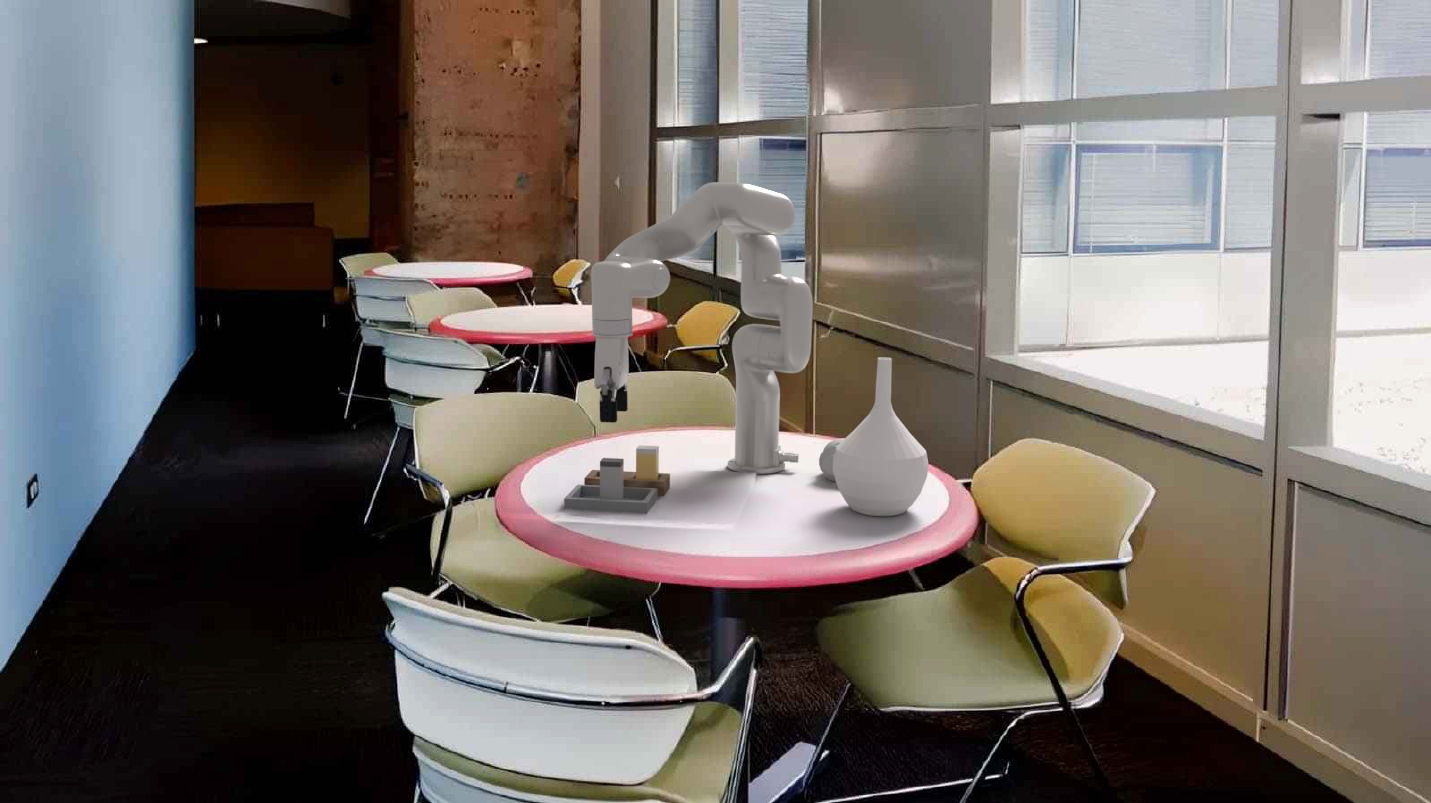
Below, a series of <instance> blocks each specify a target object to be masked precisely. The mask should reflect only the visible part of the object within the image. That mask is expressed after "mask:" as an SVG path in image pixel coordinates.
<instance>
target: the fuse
mask: <svg viewBox="0 0 1431 803" xmlns="http://www.w3.org/2000/svg"><path fill="white" fill-rule="evenodd" d="M659 448H660V447H659V445H658V446H657V445H643V444H642V445H640V444H639V445H638V446H637V447H636V449H635V472H636V479H650V480H658V473H660V472H659V471H660V470H659V465H660V464H659V463H660V462H659V461H660V460H659V458H660V455H659V452H660V449H659Z"/></svg>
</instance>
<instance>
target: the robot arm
mask: <svg viewBox="0 0 1431 803" xmlns="http://www.w3.org/2000/svg"><path fill="white" fill-rule="evenodd" d="M794 206H795V205H794V204H793V202H792V200H790V198H789V197H787V196H786V195H784V194H782V193H778V192H777V191H776V192H775V191H773V190H769V189H766V188H763V187H759V186H756V185H752V184H751V183H750V184H748V183H743V182H721V181H720V182H719V181H717V182H716V181H714V182H708V183H705V184H703V185H702V186H700V187H698V189H697V190H695V192H694V193H693V194H691V196H690V197H688V199H686V201H684V203H683V204H681V205H680V206H679V207H678V208H677V209H676V210H675V211H674V212H673V213H672V214H671V215H670V216H668V218H666V219H665V220H662V221H660V222H658V223H654V224H653V225H650V226H649V227H647V228H645V229H642V230H641V231H638V232H636V233H635V234H633V235H631V236H629V237H627V238H626V239H624V240H623V241H622V242H621V243H620V244H618V245H617V246H616V247H615V248H614V249H613V250H612V251H611V252H610V253H609V254H608V255H607V256H606V258H605V259H604V260H603V261H599V262H595V263H594V264H593V265H592V266H591V269H590V270H591V272H590V274H591V277H590V278H591V318H592V319H591V320H592V321H591V322H592V325H591V326H592V337H595V346H594V347H595V349H594V370H593V371H594V372H593V373H594V374H593V375H594V377H593V378H594V379H593V383H594V385H593V386H594V388H595V389H596V390H599V389H600V390H599V422H600V423H611V424H612V423H613V424H614V423H617V422H618V412H627V411H628V408H629V407H628V403H629V402H628V384H627V383H628V380H629V376H630V375H629V372H630V370H629V368H630V364H629V363H630V362H629V340H628V339H629V337H632V336H633V335H634V334H633V299H634V298H642V299H643V298H644V299H651V298H652V299H653V298H656V297H658V296H661V295H663V293H665V291H666V290H667V289H668V288H669V285H670V283H671V275H670V273H671V272H670V271H669V268H668V267H667V266H666V264H664V263H663V262H664V261H668V260H673V259H674V260H675V259H678V258H682V257H686V256H688V255H691V254H694V253H696V252H697V251H698V250H699V249H700V248H702V246H703V245H704V244H705V243H706V242H707V241H708V240H709V239H710V238H711V237H712V236H713V235H714V234H715V233H716V232H717V231H718V230H719V229H720V228H721V227H723V226H724V227H725V228H726V229H727V230H728V231H729V232H730V233H731V234H732V235H733V238H735V240H736V242H737V244H738V246H739V250H740V255H741V256H740V258H741V270H740V271H741V272H740V274H741V276H740V277H741V278H740V279H741V280H740V305H741V306H740V307H741V309H742V311H743V312H744V314H746V316H749V317H752V318H757V319H764V320H771V321H779V324H780V325H779V326H777V325H769V324H762V323H761V324H760V323H752V324H751V323H750V324H746V325H743V326H742V327H739V329H738V330H737V331H736V332H735V333H734V335H733V338H732V342H731V344H732V345H731V350H732V351H731V352H732V357H733V362H734V369H735V383H736V384H735V385H736V386H735V429H734V430H735V431H734V432H735V433H734V434H735V436H734V440H735V441H734V458H731V459H729V460H727V468H728V469H730V470H731V471H734V472H737V473H747V474H748V473H750V474H751V473H752V474H756V475H761V474H762V475H766V474H773V473H775V474H776V473H780V472H782V471H783V470H785V468H786V462H787V463H788V462H789V463H794V464H795V463H796V464H797V463H799V453H795V452H790V451H788V452H785V451H783V450H781V447H782V446H781V445H779V435H780V434H779V433H780V429H779V428H780V402H781V401H780V400H781V398H780V397H781V390H780V383H779V381H778V380H779V379H778V377H777V375H776V373H775V372H780V373H787V374H797V373H799V372H801V371H803V370H804V369H805V368H806V366H807V365H808V362H809V361H810V358H811V350H812V333H813V331H812V330H813V309H814V308H813V307H814V306H813V305H814V304H813V294H812V292H811V289H810V286H809V285H808V283H807V282H806V281H805V280H804V279H802V278H799V277H797V276H788V275H783V274H782V251H781V250H782V249H781V246H780V244H779V240H778V239H777V237H779V236H783V235H785V234H786V233H788V232H789V231H790V230H791V229H792V228H793V226H794V224H795V219H796V209H795V207H794Z"/></svg>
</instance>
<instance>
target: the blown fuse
mask: <svg viewBox="0 0 1431 803" xmlns="http://www.w3.org/2000/svg"><path fill="white" fill-rule="evenodd" d="M624 464H625V463H624V458H618V457H616V458H615V457H602V458H601V460H599V470H600V497H599V499H610V500H624V498H623V472H624Z"/></svg>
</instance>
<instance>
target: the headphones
mask: <svg viewBox="0 0 1431 803" xmlns="http://www.w3.org/2000/svg"><path fill="white" fill-rule="evenodd" d="M845 438H846V437H845ZM845 438H844V437H842V438H841V437H840V438H836V439H832V440H831V441H830V442H828V443H827V444H826V445H825V447H824V448H823V449H822V452H821V453H820V455H819V458H818V465H819V469H820V471H821V472H822V474H823V475H824V476H825V477H826V478H827V479H828V480H830V481H832V482H834V483H836V480H835V476H834V473H833V458H834V454H835V450H836V447H837V446H838V445H839V444H840V443H841V442H842V441H843V440H844V439H845Z"/></svg>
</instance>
